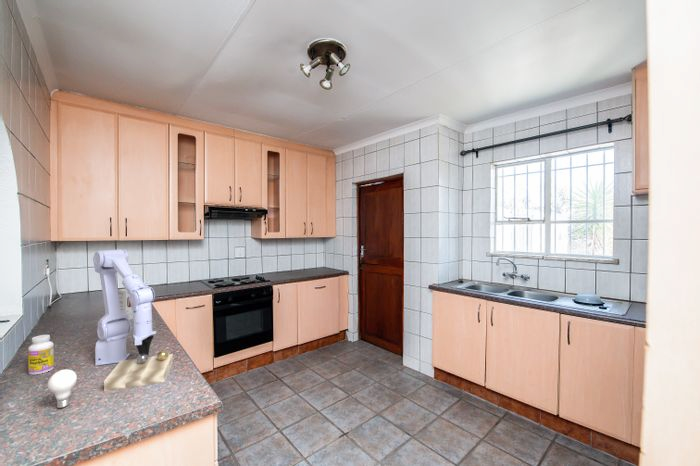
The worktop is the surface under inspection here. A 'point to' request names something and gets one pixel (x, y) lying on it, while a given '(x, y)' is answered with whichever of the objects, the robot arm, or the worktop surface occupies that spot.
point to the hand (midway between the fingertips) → (144, 357)
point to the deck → (138, 373)
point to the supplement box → (125, 303)
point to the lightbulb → (62, 386)
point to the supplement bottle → (40, 355)
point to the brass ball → (162, 355)
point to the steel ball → (142, 358)
